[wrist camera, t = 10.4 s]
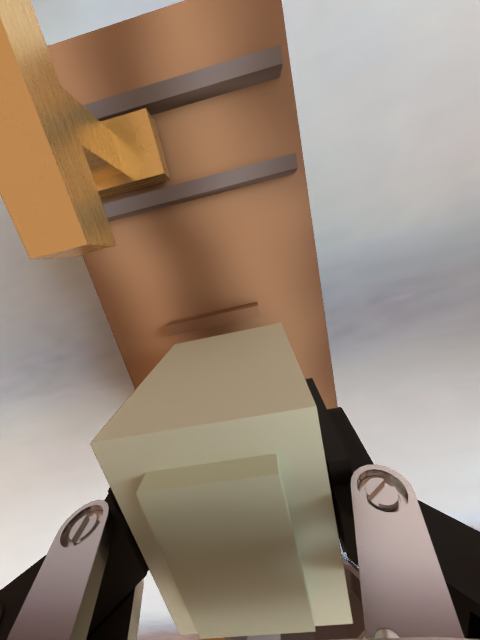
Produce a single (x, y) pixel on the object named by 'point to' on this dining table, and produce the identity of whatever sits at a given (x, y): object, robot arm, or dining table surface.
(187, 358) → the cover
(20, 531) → the dining table surface
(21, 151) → the key
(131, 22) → the board
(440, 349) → the dining table surface
